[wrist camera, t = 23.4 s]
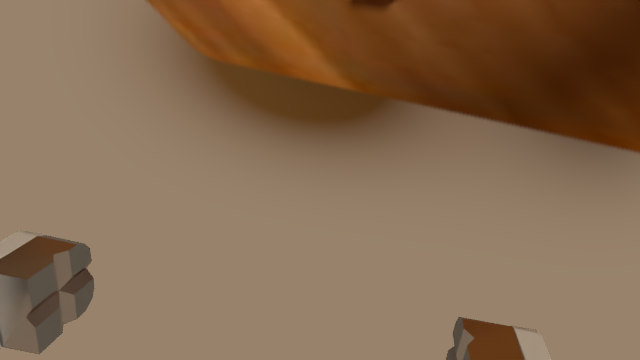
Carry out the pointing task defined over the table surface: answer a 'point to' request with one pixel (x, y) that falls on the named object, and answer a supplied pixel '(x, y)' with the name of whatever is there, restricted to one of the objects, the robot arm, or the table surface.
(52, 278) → the robot arm
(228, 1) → the table surface
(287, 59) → the table surface
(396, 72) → the table surface
